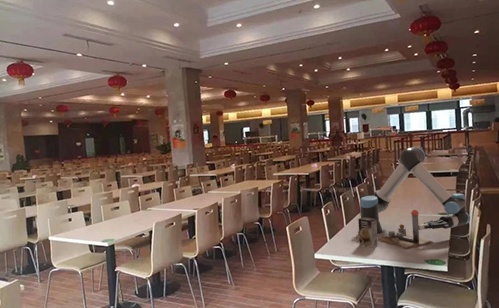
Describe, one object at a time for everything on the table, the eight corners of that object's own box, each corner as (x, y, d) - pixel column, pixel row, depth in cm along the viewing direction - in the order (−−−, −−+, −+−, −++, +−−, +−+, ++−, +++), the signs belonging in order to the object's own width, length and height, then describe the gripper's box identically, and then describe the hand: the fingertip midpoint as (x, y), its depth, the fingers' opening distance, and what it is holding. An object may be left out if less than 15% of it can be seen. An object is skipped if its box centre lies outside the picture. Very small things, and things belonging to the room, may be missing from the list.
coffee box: (359, 245, 251) (357, 218, 250) (365, 242, 255) (363, 216, 254) (372, 247, 244) (370, 220, 243) (378, 245, 248) (376, 218, 247)
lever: (388, 236, 259) (386, 206, 258) (392, 235, 261) (391, 205, 260) (416, 243, 241) (415, 211, 240) (421, 241, 243) (419, 210, 242)
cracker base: (403, 235, 266) (402, 222, 265) (432, 243, 244) (432, 229, 243) (378, 240, 258) (377, 227, 258) (406, 249, 236) (405, 235, 236)
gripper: (457, 229, 247) (428, 236, 237) (439, 225, 258) (411, 232, 249) (456, 217, 246) (427, 223, 237) (439, 213, 258) (410, 219, 249)
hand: (419, 227), depth 243 cm, fingers closed
